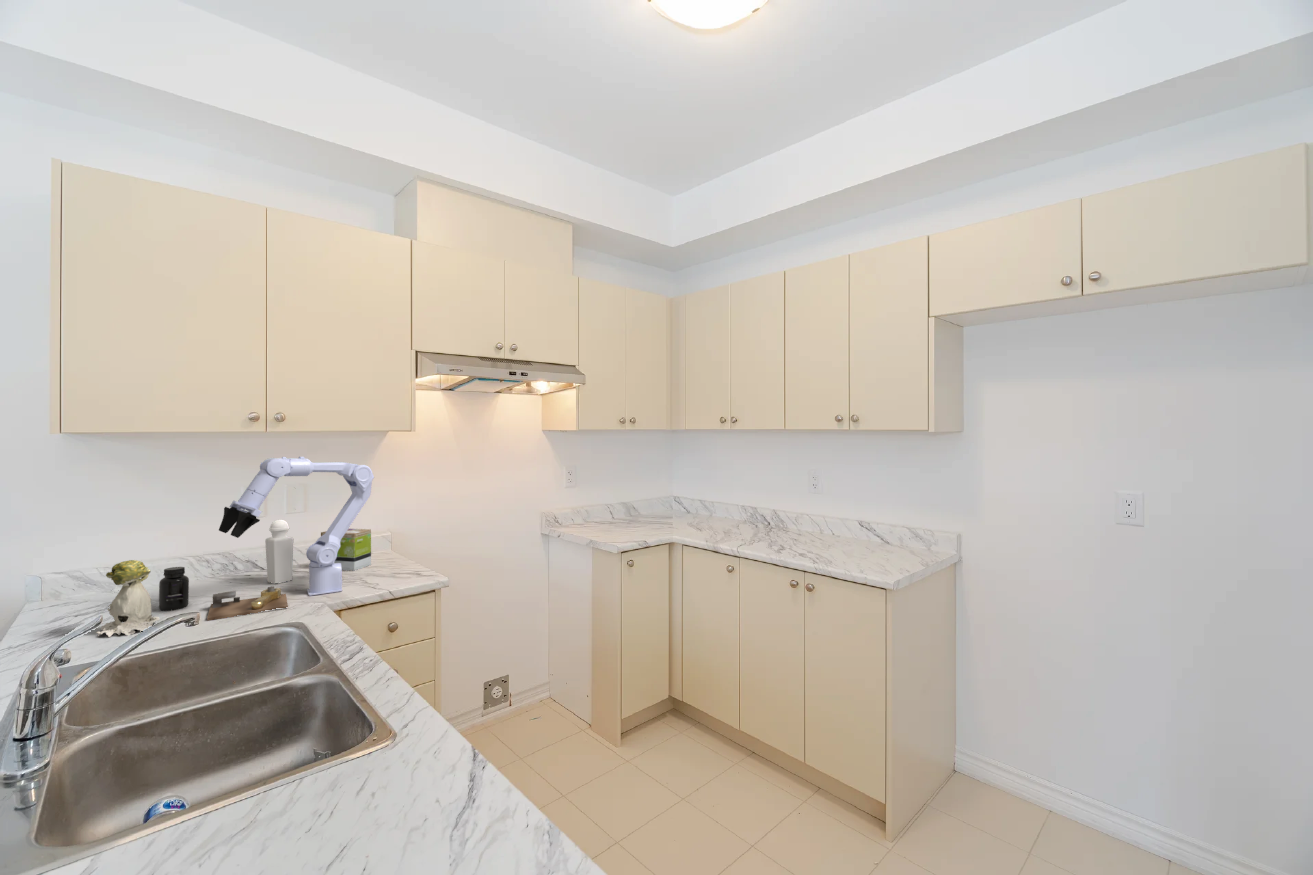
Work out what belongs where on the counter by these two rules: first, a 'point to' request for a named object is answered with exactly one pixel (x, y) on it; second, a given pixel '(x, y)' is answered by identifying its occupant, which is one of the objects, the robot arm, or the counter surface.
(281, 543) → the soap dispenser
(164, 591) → the supplement bottle
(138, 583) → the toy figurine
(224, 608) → the hinge board
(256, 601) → the link
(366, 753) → the counter surface
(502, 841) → the counter surface
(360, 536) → the tea box
